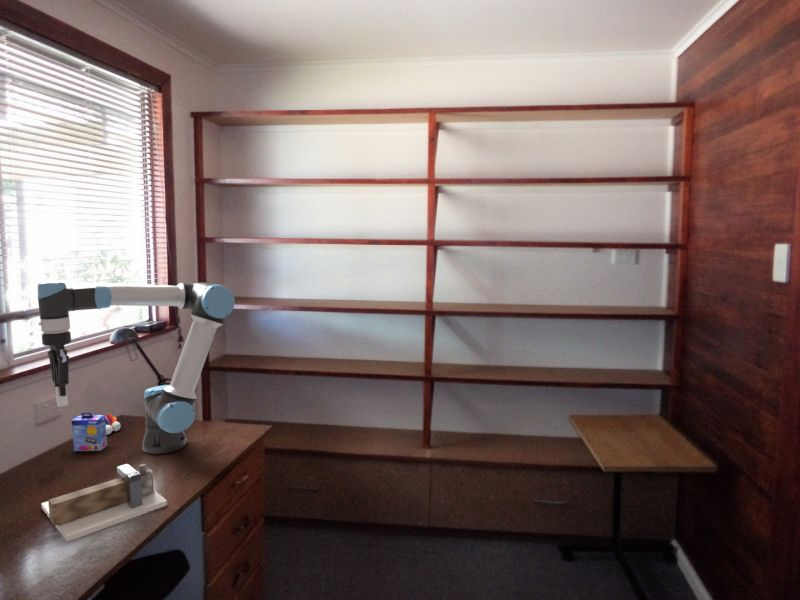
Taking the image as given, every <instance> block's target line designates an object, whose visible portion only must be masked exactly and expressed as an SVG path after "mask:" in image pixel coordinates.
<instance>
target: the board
mask: <svg viewBox="0 0 800 600" xmlns="http://www.w3.org/2000/svg"><path fill="white" fill-rule="evenodd" d="M40 504H41V509H42V510H43V512H44V514H47V515H46V516H47V518H48V519H49V518H50V513H49V502H48V500H47V501H44V502H42V503H40ZM166 505H167V506H168V500H167V499H165V497H163V496H162V495H161V494H159V493H158V492H157V491H156V490H155V489H154V492H153V493H151V494H149V495H147V496H142V505H141V506H138V507H135V508H133V509H131V508H130V507H129V506H128V503H127V501H126V502H123V503H120V504H118V505H115V506H112V507H109V508H106V509H103V510H100V511H97V512H94V513H91V514H88V515H85V516H82V517H79V518H76V519H74V520H71V521H68V522H65V523H62V524H59V525H56V526H54V527H55V529H57V531H58V532H59V533H60V535H61V537H63V539H64V540H65V541H66V542H67V543H68V542H71V541H73V540H76V539H79V538H81V537H85V536H88V535H90V534H92V533H95V532H98V531H100V530H104V529H106V528H109V527H111V526H114V525H117V524H120V523H122V522H126V521H128V520H131V519H133V518H137V517H139V516H142V515H145V514H147V513H150V512H153V511H155V509H156V510H158V509H161V508H163V507H164V508H165V507H166ZM149 511H150V512H149Z"/></svg>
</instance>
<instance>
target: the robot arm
mask: <svg viewBox="0 0 800 600" xmlns="http://www.w3.org/2000/svg"><path fill="white" fill-rule="evenodd" d="M37 300H38V310H39V311H38V312H39V319H40V322H38V326H40V330H41V332H42V333H41V343H42V345H43V346H44V347H45V346H46V347H49V350H48V351H47V356H48V359H49V366H50V371H51V372H50V373H51V378H52V380H51V381H52V382H53V384H54V385H53V387H54V388H55V398H56V406H57V407H58V408H60V407H64V406H65V407H66V406H68V405H69V397H68V395H69V394H68V386H67V385H69V381H70V380H69V360H70V355H68V351H67V349H66V347H65V345H68V344H70V343H72V335H71V331H70V329H71V322H70V321H71V320H70V315H69V314H70V313H69V312H74V311H84V310H85V311H87V310H101V309H107V308H110V307H111V306H126V307H127V306H128V307H129V306H132V307H133V306H134V307H138V306H139V307H147V306H148V307H151V306H152V307H177V308H178V309H180V310H190V311H191V313H190V317H191V319H192V323H191V325H190V329H189V331H188V333H187V336H186V340H185V341H184V345H183V347H182V351H181V353H180V356H179V359H178V362H177V364H176V366H175V369H174V372H173V375H172V378H171V381H170V382H169V383H170V384H164V385H157V386H152V387H149V388H147V389H145V391H144V396H143V400H144V412H145V426H146V429H145V434H144V437H143V438H142V439H143V440H142V445H141V447H142V451H143V452H144V453H146V454H149V455H160V454H161V455H162V454H168V453H172V452H176V451H179V450H180V449H182V448H184V447H185V446H186V444H187V437H186V433H185V430H187V429H188V428H190V427H191V425H192V424H193V422H194V421H195V417H196V412H195V408H194V407H195V405H196V400H197V398H198V396H197V394H196V391H195V390H196V387H197V385H198V383H199V382H198V381H199V379H200V376H201V373H202V371H203V368H204V365H205V362H206V360H207V357H208V353H209V352H210V349H211V345H212V344H213V340H214V338H215V335H216V331H217V329H218V328H220V327H222V326H223V325H224V322H225V320H226V317H228V316H229V315H230V314H231V313H232V312H233V310H234V307H235V303H236V302H235V295H234V294H233V292H232V291H231V290H230V289H229V288H228V287H227V286H225V285H222V284H219V283H214V282H208V281H204V282H202V281H201V282H192V283H191V282H190V283H189V282H187V283H185V282H183V283H182V282H180V283H179V284H177V285H166V284H165V285H162V284H159V285H158V284H136V283H135V284H133V283H132V284H131V283H130V284H129V283H128V284H127V283H103V282H102V283H99V282H93V283H92V282H86V281H81V282H80V281H79V282H77V283H75V284H73V285H72V286H68V285H67V282H66V281H63V280H54V281H53V280H50V281H49V280H48V281H41V282H40V283H38V284H37Z"/></svg>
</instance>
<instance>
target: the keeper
mask: <svg viewBox="0 0 800 600" xmlns="http://www.w3.org/2000/svg"><path fill="white" fill-rule="evenodd" d="M116 473H117V474H118V475H119V476H121V477H123V478H124V479H125V480H126V489H127V503H128V506H129V507H130V508H131V509H133V508H135V507H138V506H141V505H142V491H141V476H140V473H139V472H138V470H136V469H135V468H134V467H133V466H131V465H130V464H129V463H125V464H121V465H118V466H116Z"/></svg>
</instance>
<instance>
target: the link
mask: <svg viewBox="0 0 800 600" xmlns="http://www.w3.org/2000/svg"><path fill="white" fill-rule="evenodd" d="M137 472H139V473H140V476H141V491H142V496H147V495H149V494H151V493H153V492H154V490H155V488H154V474H153V473H154V471H153V470H151V469H147V464H146V463H141V464H139V465H138V470H137ZM47 501H48V502H49V513H50V519H49V521H50V522H51V524H52V525H53V526H54V527H55V526H56V525H59V524H62V523H65V522H68V521H71V520H74V519H76V518H79V517H82V516H85V515H88V514H91V513H94V512H97V511H100V510H103V509H106V508H109V507H112V506H115V505H118V504H120V503H123V502H126V501H127V489H126V480H125V479H124V478H123V477H122V476H121V477H118V478H115V479H111V480H108V481H105V482H101V483H98V484H96V485H92V486H88V487H86V488H82V489H79V490H75V491H71V492H69V493H66V494H63V495H59V496H56V497H53V498H50V499H47Z"/></svg>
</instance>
